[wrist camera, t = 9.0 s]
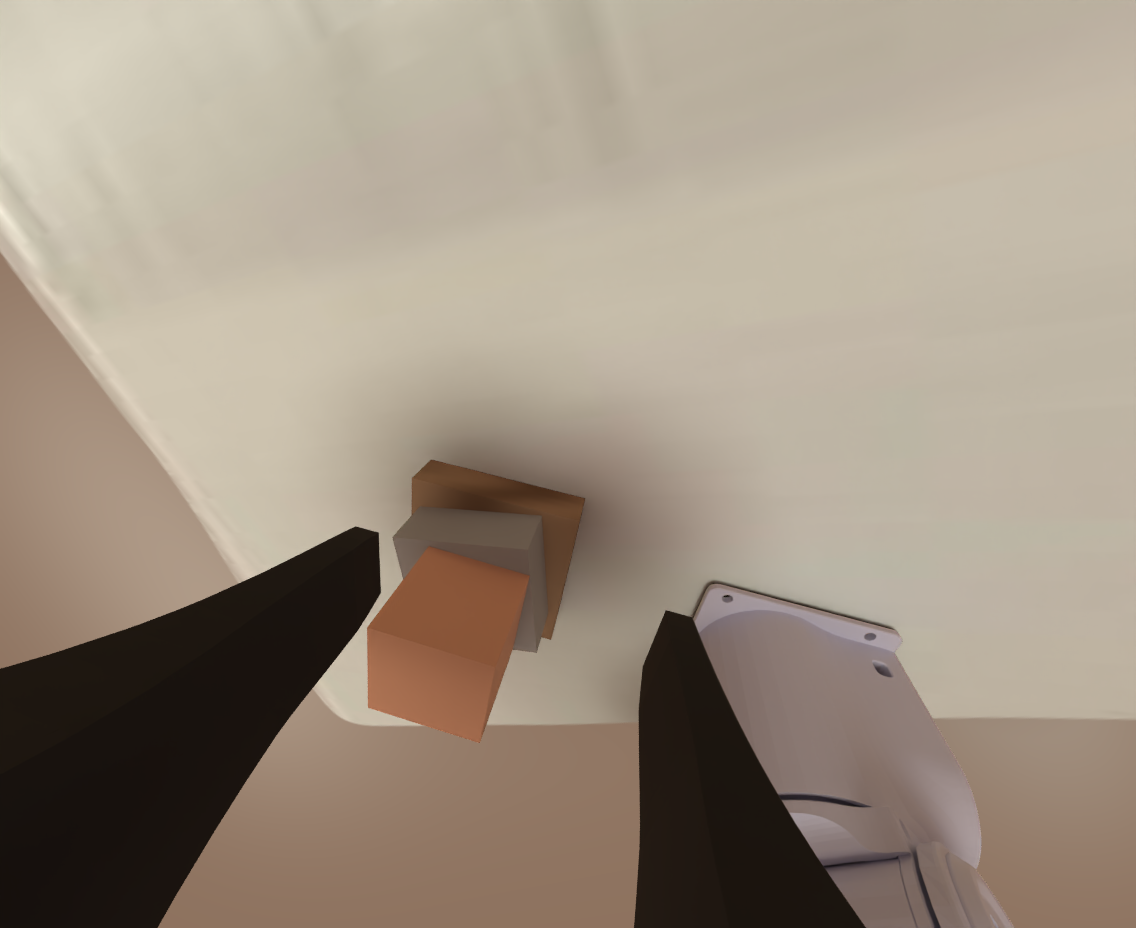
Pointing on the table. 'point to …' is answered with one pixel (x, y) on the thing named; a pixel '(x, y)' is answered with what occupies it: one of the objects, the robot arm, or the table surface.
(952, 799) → the robot arm
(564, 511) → the walnut slab
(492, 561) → the grey slab
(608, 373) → the table surface
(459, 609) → the terracotta cube
